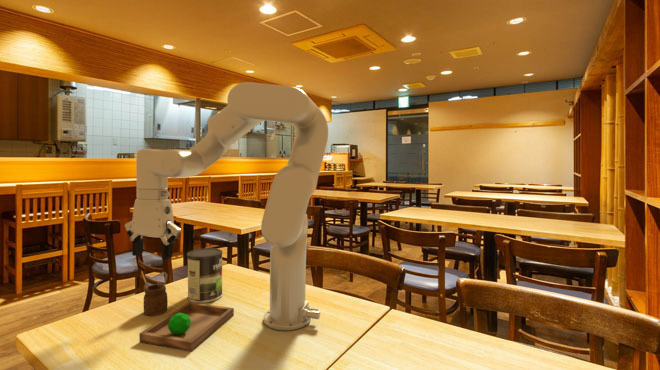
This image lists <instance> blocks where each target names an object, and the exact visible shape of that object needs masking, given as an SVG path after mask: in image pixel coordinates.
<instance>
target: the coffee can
mask: <svg viewBox="0 0 660 370" xmlns="http://www.w3.org/2000/svg"><path fill="white" fill-rule="evenodd" d="M186 257H187V300H188V301H189V302H193V303H201V304H207V303H211V302H214V301H218V300H219V299H221V298H222V297H223V250H222V249H220V248H214V247H206V248H205V247H202V248H197V249H193V250H190V251H187V253H186Z"/></svg>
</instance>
